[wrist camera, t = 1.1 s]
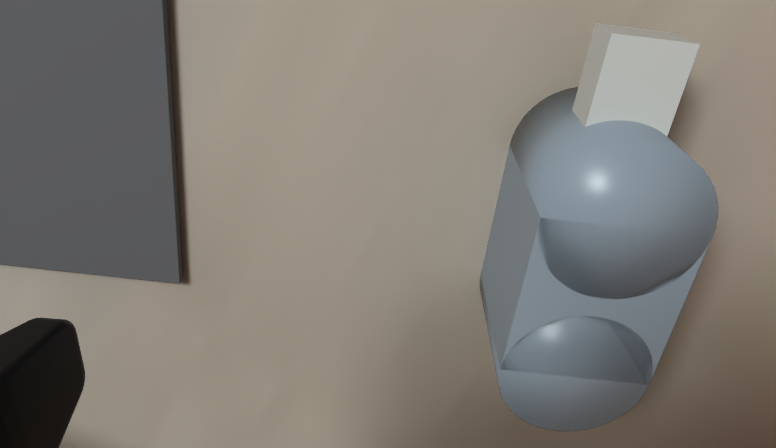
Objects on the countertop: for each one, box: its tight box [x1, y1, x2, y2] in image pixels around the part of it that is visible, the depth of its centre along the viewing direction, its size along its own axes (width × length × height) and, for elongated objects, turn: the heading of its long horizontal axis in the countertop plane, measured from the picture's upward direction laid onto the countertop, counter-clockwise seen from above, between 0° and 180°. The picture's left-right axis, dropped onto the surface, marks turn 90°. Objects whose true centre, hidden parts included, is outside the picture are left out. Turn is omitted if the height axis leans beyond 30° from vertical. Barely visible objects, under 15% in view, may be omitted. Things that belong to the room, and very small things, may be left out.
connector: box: [480, 23, 718, 431], centre depth 18 cm, size 12×4×5 cm, turn 174°
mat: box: [0, 0, 183, 284], centre depth 19 cm, size 12×10×1 cm
